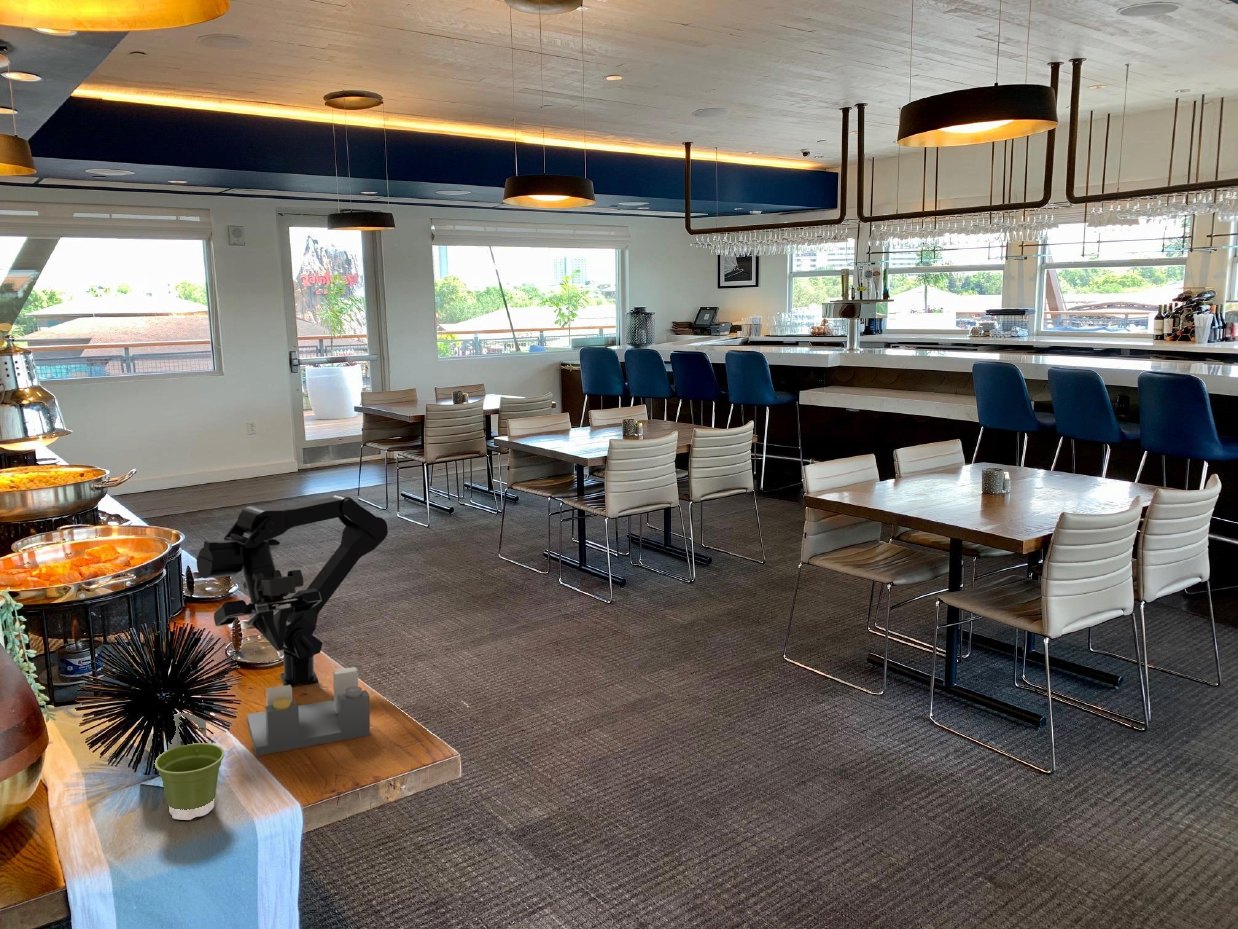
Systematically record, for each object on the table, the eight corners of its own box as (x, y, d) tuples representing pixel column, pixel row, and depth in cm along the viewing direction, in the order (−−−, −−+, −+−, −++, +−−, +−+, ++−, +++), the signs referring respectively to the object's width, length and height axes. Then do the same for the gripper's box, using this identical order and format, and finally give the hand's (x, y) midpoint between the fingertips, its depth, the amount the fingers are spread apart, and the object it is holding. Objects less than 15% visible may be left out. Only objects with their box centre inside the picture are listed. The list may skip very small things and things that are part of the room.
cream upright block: (334, 709, 169) (333, 670, 167) (356, 705, 170) (355, 667, 169) (336, 713, 167) (335, 674, 166) (358, 710, 169) (357, 671, 167)
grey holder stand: (247, 722, 167) (245, 677, 165) (353, 704, 175) (352, 662, 174) (256, 756, 154) (254, 708, 153) (370, 735, 163) (369, 690, 162)
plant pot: (180, 792, 142) (178, 740, 141) (238, 797, 141) (236, 745, 140) (143, 825, 133) (140, 770, 132) (205, 831, 132) (202, 775, 131)
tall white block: (267, 729, 160) (266, 688, 159) (291, 725, 162) (290, 684, 160) (268, 734, 158) (267, 692, 157) (293, 730, 160) (292, 689, 159)
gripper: (226, 562, 162) (247, 646, 158) (323, 550, 176) (345, 627, 171) (204, 584, 169) (223, 665, 165) (299, 571, 183) (319, 645, 178)
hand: (280, 650), depth 170 cm, fingers closed
